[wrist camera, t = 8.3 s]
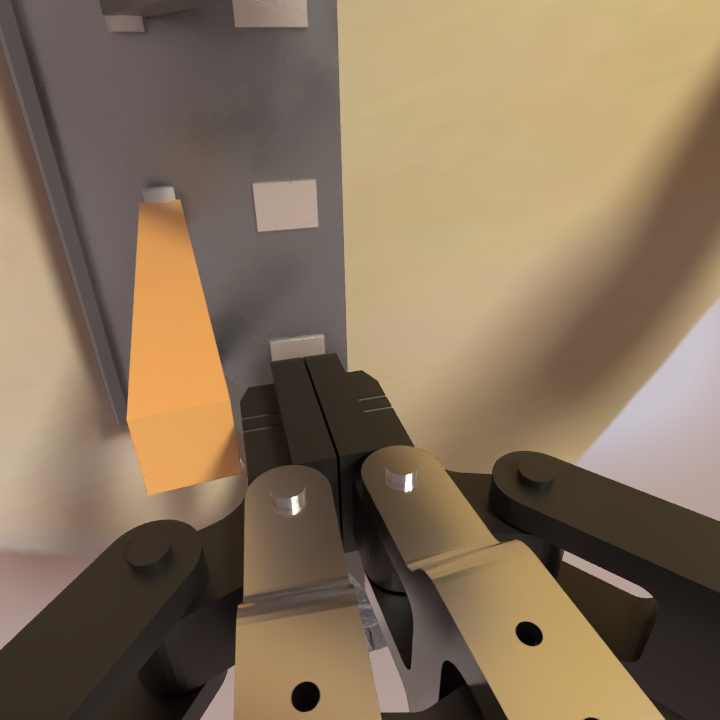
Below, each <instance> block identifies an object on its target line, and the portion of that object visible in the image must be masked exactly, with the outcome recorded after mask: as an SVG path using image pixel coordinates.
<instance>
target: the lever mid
mask: <svg viewBox="0 0 720 720" xmlns="http://www.w3.org/2000/svg"><path fill="white" fill-rule="evenodd" d="M142 193H143V198H144V202H143V203H139V220H138V237H137V253H136V270H135V287H134V304H133V320H132V337H131V354H130V371H129V387H128V404H127V423H128V427H129V430H130V434H131V437H132V440H133V444H134V447H135V451H136V454H137V458H138V461H139V465H140V468H141V472H142V475H143V479H144V482H145V485H146V489H147V492H148V496H149V495H153V494H157V493H161V492H165V491H170V490H174V489H178V488H182V487H187V486H191V485H195V484H199V483H203V482H208V481H212V480H216V479H220V478H224V477H229V476H233V475H237V474H241V473H242V470H241V464H240V458H239V451H238V445H237V439H236V433H235V427H234V421H233V415H232V409H231V403H230V398H229V394H228V390H227V386H226V382H225V378H224V373H223V369H222V365H221V361H220V357H219V353H218V349H217V345H216V341H215V337H214V333H213V329H212V325H211V321H210V317H209V313H208V309H207V305H206V301H205V297H204V293H203V289H202V285H201V281H200V277H199V273H198V269H197V265H196V261H195V257H194V253H193V249H192V245H191V241H190V237H189V233H188V229H187V225H186V221H185V217H184V213H183V209H182V205H181V201H180V199H178V200H176V199H175V193H174V188H173V187H172V186H152V187H147V188H144V189H142Z"/></svg>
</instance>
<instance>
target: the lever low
mask: <svg viewBox="0 0 720 720" xmlns="http://www.w3.org/2000/svg"><path fill="white" fill-rule="evenodd" d="M226 1H231V0H99V2H100V6H101V11H102V15H105V20H106V25H107V29H108V32H145V30H144V25H143V19H142V17H151V16H156V15H161V14H166V13H171V12H176V11H181V10H186V9H191V8H196V7H201V6H206V5H211V4H216V3H221V2H226Z"/></svg>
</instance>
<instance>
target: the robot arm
mask: <svg viewBox="0 0 720 720" xmlns="http://www.w3.org/2000/svg"><path fill="white" fill-rule="evenodd" d="M269 368H270V377H271V384H267V385H260V386H254V387H248V389H247V390H246V392H245V394H244V395H243V397H242V399H241V401H240V409H241V418H242V427H243V436H244V445H245V454H246V463H247V473H248V489H247V492H246V494H245V498H244V500H243V501H242V503H241V504H240V505H239V506H238V507H237V509H236V510H234V511H233V512H232V513H231V514H230V515H228V516H227V517H225V518H224V519H222V520H220V521H218V522H216V523H214V524H212V525H210V526H208V527H206V528H204V529H202V530H199V531H196V530H195V529H194V528H193V527H191V526H190V525H188V524H186V523H184V522H181V521H177V520H158V521H152V522H149V523H145V524H143V525H140V526H138V527H135V528H133V529H132V530H130V531H128V532H126V533H125V534H123V535H122V536H121V537H119V538H118V539H117V540H116V541H115V542H114V543H112V544H111V545H110V546H109V547H108V548H107V549H106V550H105V551H104V552H103V553H102V554H101V555H100V556H99V557H98V558H97V559H96V560H95V561H94V562H93V563H91V564H90V565H89V566H88V567H87V568H86V569H85V570H84V571H83V572H82V573H81V574H80V575H79V576H78V577H77V578H76V579H75V580H74V581H73V582H72V583H70V584H69V585H68V586H67V587H66V588H65V589H64V590H63V591H62V592H61V593H60V594H59V595H58V596H57V597H56V598H55V599H54V600H53V601H52V602H51V603H49V604H48V605H47V606H46V607H45V608H44V609H43V610H42V611H41V612H40V613H39V614H38V615H37V616H36V617H35V618H34V619H33V620H32V621H31V622H30V623H28V624H27V625H26V626H25V627H24V628H23V629H22V630H21V631H20V632H19V633H18V634H17V635H16V636H15V637H14V638H13V639H12V640H11V641H10V642H9V643H7V644H6V645H5V646H4V647H3V648H2V649H1V650H0V720H200V719H201V717H202V715H203V714H204V712H205V711H206V709H207V708H208V706H209V704H210V703H211V701H212V700H213V698H214V697H215V695H216V693H217V692H218V690H219V689H220V687H221V685H222V683H223V682H224V680H225V677H226V674H227V670H228V669H229V668H230V667H232V666H234V665H235V691H234V694H235V695H234V720H720V521H717V520H714V519H712V518H709V517H707V516H704V515H702V514H699V513H696V512H694V511H691V510H689V509H686V508H683V507H681V506H678V505H676V504H673V503H670V502H668V501H665V500H663V499H660V498H657V497H655V496H652V495H650V494H647V493H645V492H642V491H640V490H637V489H634V488H632V487H629V486H627V485H624V484H621V483H619V482H616V481H614V480H611V479H608V478H606V477H603V476H601V475H598V474H596V473H593V472H590V471H588V470H585V469H583V468H580V467H577V466H575V465H572V464H570V463H567V462H564V461H562V460H559V459H557V458H554V457H552V456H549V455H546V454H543V453H538V452H532V451H518V452H512V453H509V454H506V455H504V456H502V457H501V458H499V459H498V460H497V461H496V463H495V464H494V466H493V470H492V474H474V473H459V472H452V471H448V470H444V468H443V467H442V465H441V464H440V463H439V461H438V460H437V459H436V458H435V457H434V456H432V455H431V454H430V453H428V452H426V451H424V450H422V449H419V448H415V447H414V445H413V443H412V441H411V440H410V438H409V436H408V434H407V432H406V431H405V429H404V427H403V425H402V424H401V422H400V420H399V418H398V416H397V415H396V413H395V411H394V409H393V408H392V407H391V404H390V402H389V400H388V399H387V397H385V393H384V392H383V390H382V388H381V386H380V384H379V383H378V381H377V380H376V379H374V378H373V377H371V376H370V375H368V374H367V373H365V372H364V371H362V370H361V371H354V372H347V373H346V372H345V370H344V368H343V366H342V364H341V362H340V360H339V357H338V355H337V353H335V352H334V353H327V354H320V355H312V356H305V357H303V358H302V357H299V358H292V359H285V360H277V361H270V362H269ZM564 550H565V551H567V552H569V553H572V554H574V555H576V556H578V557H580V558H582V559H584V560H586V561H588V562H590V563H592V564H595V565H597V566H599V567H601V568H603V569H605V570H607V571H609V572H612V573H614V574H616V575H618V576H620V577H622V578H624V579H626V580H628V581H630V582H632V583H634V584H637V585H639V586H640V587H642V588H644V589H645V590H646V591H648V592H649V593H650V594H651V595H652V596H653V598H639V597H636V596H634V595H631V594H629V593H627V592H625V591H623V590H621V589H619V588H617V587H615V586H613V585H611V584H609V583H607V582H605V581H603V580H601V579H599V578H597V577H595V576H593V575H590V574H588V573H586V572H584V571H582V570H580V569H578V568H576V567H574V566H572V565H570V564H568V563H566V562H564V561H562V558H563V554H564ZM343 551H344V552H343ZM353 551H359V554H360V557H361V560H362V563H363V583H364V588H365V591H366V594H367V596H368V598H369V601H370V603H371V606H372V608H373V611H374V613H375V616H376V618H377V621H378V623H379V625H380V628H381V630H382V633H383V635H384V638H385V640H386V643H387V645H388V648H389V650H390V652H391V655H392V657H393V660H394V662H395V665H396V667H397V670H398V672H399V674H400V677H401V680H402V682H403V685H404V688H405V692H406V696H407V701H408V707H409V711H410V712H408V713H381V712H380V707H379V702H378V697H377V692H376V687H375V682H374V678H373V673H372V668H371V663H370V658H369V653H368V648H367V643H366V638H365V633H364V628H363V623H362V618H361V613H360V608H359V603H358V599H357V595H356V591H355V588H354V585H353V584H350V582H349V578H348V573H347V567H346V562H345V557H344V553H349V552H353Z"/></svg>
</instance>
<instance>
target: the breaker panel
mask: <svg viewBox="0 0 720 720" xmlns="http://www.w3.org/2000/svg"><path fill="white" fill-rule="evenodd" d="M142 19H143V25H144V30H145V32H108V29H107V25H106V20H105V15H102V11H101V6H100V2H99V0H0V41H1V45H2V48H3V51H4V54H5V58H6V61H7V64H8V68H9V71H10V74H11V78H12V81H13V84H14V88H15V91H16V94H17V97H18V101H19V104H20V107H21V111H22V114H23V117H24V121H25V124H26V127H27V131H28V134H29V137H30V140H31V144H32V147H33V150H34V154H35V157H36V160H37V164H38V167H39V170H40V174H41V177H42V180H43V183H44V187H45V190H46V193H47V197H48V200H49V203H50V207H51V210H52V213H53V217H54V220H55V223H56V226H57V230H58V233H59V236H60V240H61V243H62V246H63V250H64V253H65V256H66V260H67V263H68V266H69V269H70V273H71V276H72V279H73V283H74V286H75V289H76V293H77V296H78V299H79V303H80V306H81V309H82V312H83V316H84V319H85V322H86V326H87V329H88V332H89V336H90V339H91V342H92V346H93V349H94V352H95V355H96V359H97V362H98V365H99V369H100V372H101V375H102V379H103V382H104V385H105V389H106V392H107V395H108V398H109V402H110V405H111V408H112V412H113V415H114V418H115V422H116V425H126V424H128V423H127V404H128V387H129V371H130V354H131V337H132V320H133V304H134V287H135V270H136V253H137V237H138V220H139V203H143V202H144V198H143V193H142V189H144V188H147V187H152V186H172V187H173V188H174V193H175V199H176V200H178V199H180V201H181V205H182V209H183V213H184V217H185V221H186V225H187V229H188V233H189V237H190V241H191V245H192V249H193V253H194V257H195V261H196V265H197V269H198V273H199V277H200V281H201V285H202V289H203V293H204V297H205V301H206V305H207V309H208V313H209V317H210V321H211V325H212V329H213V333H214V337H215V341H216V345H217V349H218V353H219V357H220V361H221V365H222V369H223V373H224V374H225V375H226V376H227V377H228V378H229V379H231V380H232V381H233V382H234V383H235V384H236V385H238V386H239V387H240V388H241V389H242V390H243V391H245V392H246V390H247V389H248V387H254V386H260V385H267V384H271V377H270V368H269V362H270V361H277V360H285V359H292V358H299V357H302V358H303V357H305V356H312V355H320V354H327V353H334V352H335V353H337V355H338V357H339V360H340V362H341V364H342V366H343V368H344V370H345V372H346V373H347V339H346V304H345V269H344V235H343V200H342V165H341V131H340V96H339V61H338V27H337V0H231V1H226V2H221V3H216V4H211V5H206V6H201V7H196V8H191V9H186V10H181V11H176V12H171V13H166V14H161V15H156V16H151V17H142Z"/></svg>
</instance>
